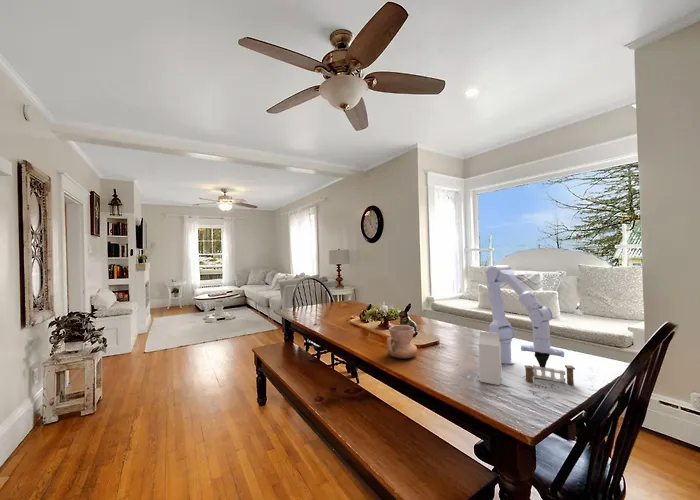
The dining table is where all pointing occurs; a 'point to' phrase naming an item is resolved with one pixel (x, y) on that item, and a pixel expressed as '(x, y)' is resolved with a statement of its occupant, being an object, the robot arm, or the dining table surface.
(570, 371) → the hinge post
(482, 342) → the milk carton
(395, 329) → the ceramic jug
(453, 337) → the dining table surface
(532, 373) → the post
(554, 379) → the gate
